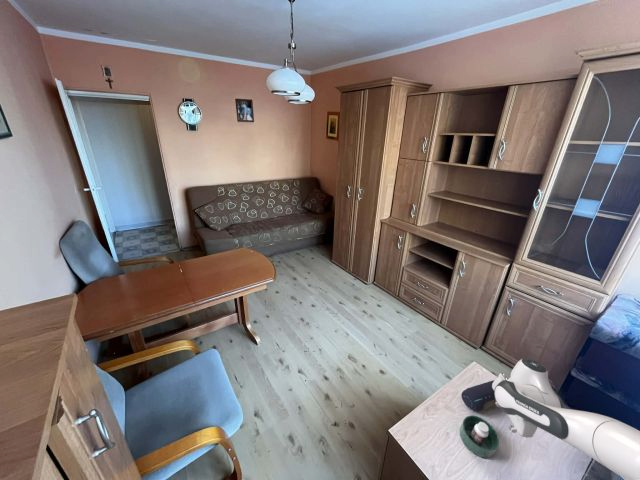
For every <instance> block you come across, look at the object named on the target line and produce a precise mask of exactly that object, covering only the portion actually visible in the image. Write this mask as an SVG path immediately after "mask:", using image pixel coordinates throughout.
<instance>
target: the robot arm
mask: <svg viewBox="0 0 640 480" xmlns="http://www.w3.org/2000/svg"><path fill="white" fill-rule="evenodd" d="M492 388H493V390H494V396H495V400H496V405H495V406H496V407H497V408H500V409H501V410H502V411H503V412H504V413H505V414H506V415H507V416H508V417H509V420H510V421H511V423H512V425H509V427H508V429H509V430H510V433H518V435H519V436H520V437H522V438H530V439H531V438H532V437H534V435H535V434H536V432H537V430H538V429H541V430H543V431H545V432H546V433H548V434H550V435H552V436H554V437H556V438H558V439H559V440H561V441H562V442H564V443H566V444H567V445H569V446H571V447H573V448H575V449H577V450H578V451H579V452H581V453H583V454H585V455H586V456H588V457H589V458H591V459H592V460H594V461H596V462H597V463H599V464H601V465H602V466H603V467H605V468H607V469H608V470H610V471H611V472H612V473H615V474H616V475H617V476H619V477H621V478H622V479H624V480H640V430H638V428H636V427H633V426H631V425H629V424H627V423H625V422H622V421H621V420H618V419H615V418H613V417H610V416H607V415H603V414H600V413H597V412H590V411H585V410H578V409H570V408H565V405H564V401H563V400H562V398H561V397H560V396H559V395H558V394H557V392H556V391H555V390H554V389H553V388H552V385H551V383H550V381H549V372H548V369H547V368H546V366H545V365H543V364H542V363H541V362H539V361H537V360H535V359H531V358H521V359H520V360H517V362H516V364H515V365H514V366H513V367H512V370H511V372H510V377H509V378H508V377H507V375H506V374H505V373H504V372H500V373H499V374H498V376H497V377H496V378H495V379H494V382H493V383H492Z"/></svg>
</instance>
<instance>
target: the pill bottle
mask: <svg viewBox="0 0 640 480" xmlns="http://www.w3.org/2000/svg"><path fill="white" fill-rule="evenodd" d="M488 431H489V428H488V426H487V425H486V424H485V423H483V422H479V423H478V424H476V425H475V426H474V428H473V430H472V432H471V434H470V438H471V440H472V441H473V442H474V443H475V444H477V445H479V446H481V445H483V443H484V442H485V440H486V438H487V437H488Z"/></svg>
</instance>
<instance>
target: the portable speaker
mask: <svg viewBox="0 0 640 480" xmlns="http://www.w3.org/2000/svg"><path fill="white" fill-rule="evenodd" d="M494 380H495V379H494ZM494 380H493V379H492V380H489V381H486V382H483V383H479V384H475V385H473V386H470V387H467V388H465V389H464V390H462V392H461V394H460V395H461V399H462V401H463V404H464V405H465V406H466V407H467V408H468V409H469V410H471V411H475V412H480V411H483V410H486V409H489V408H491V407H495V406H497V405H496V400H495V396H494V390H493V388H492V383H493V382H494Z"/></svg>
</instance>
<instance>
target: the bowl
mask: <svg viewBox="0 0 640 480" xmlns="http://www.w3.org/2000/svg"><path fill="white" fill-rule="evenodd" d="M479 422H483V423H485V424H486V425H487V426H488V428H489V431H488V437H487V438H486V440H485V442H484V443H483V445H481V446H479V445H477V444H475V443H474V442H473V441H472V440H471V438H470V434H471V432H472V430H473V428H474V426H475V425H476V424H478V423H479ZM458 432H459V437H460V439H461V442H462V443H463V445H464V446H465V447H466V449H468V450H469V451H470V452H471V453H473V454H474V455H475V456H477V457H480V458H486V459H488V458H491V457H492V456H494V454H495V452H496V451H497V449H498V448H499V445H500V440H499V439H500V438H499V435H498V434H497V431H496V430H495V429H494V427H493V425H491V424H490V423H489V422H488V421H487V420H485V419H484V418H482V417H480V416H477V415H467V416H466V417H465V418H464V419H463V421H462V423H461V424H460V427H459V431H458Z"/></svg>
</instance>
